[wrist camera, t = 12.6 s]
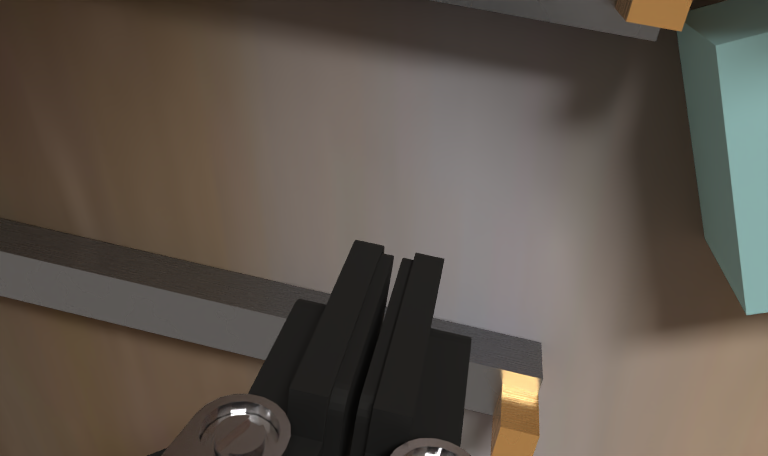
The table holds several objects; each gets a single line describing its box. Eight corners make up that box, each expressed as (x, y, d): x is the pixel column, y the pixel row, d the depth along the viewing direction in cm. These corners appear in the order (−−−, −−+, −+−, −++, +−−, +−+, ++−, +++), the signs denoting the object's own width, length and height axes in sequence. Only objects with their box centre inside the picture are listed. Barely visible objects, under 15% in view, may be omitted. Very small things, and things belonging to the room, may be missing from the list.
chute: (-90, -178, 19) (-226, -195, 16) (667, -51, 17) (705, -37, 14) (-19, 256, 26) (-101, 311, 23) (527, 385, 24) (528, 468, 21)
